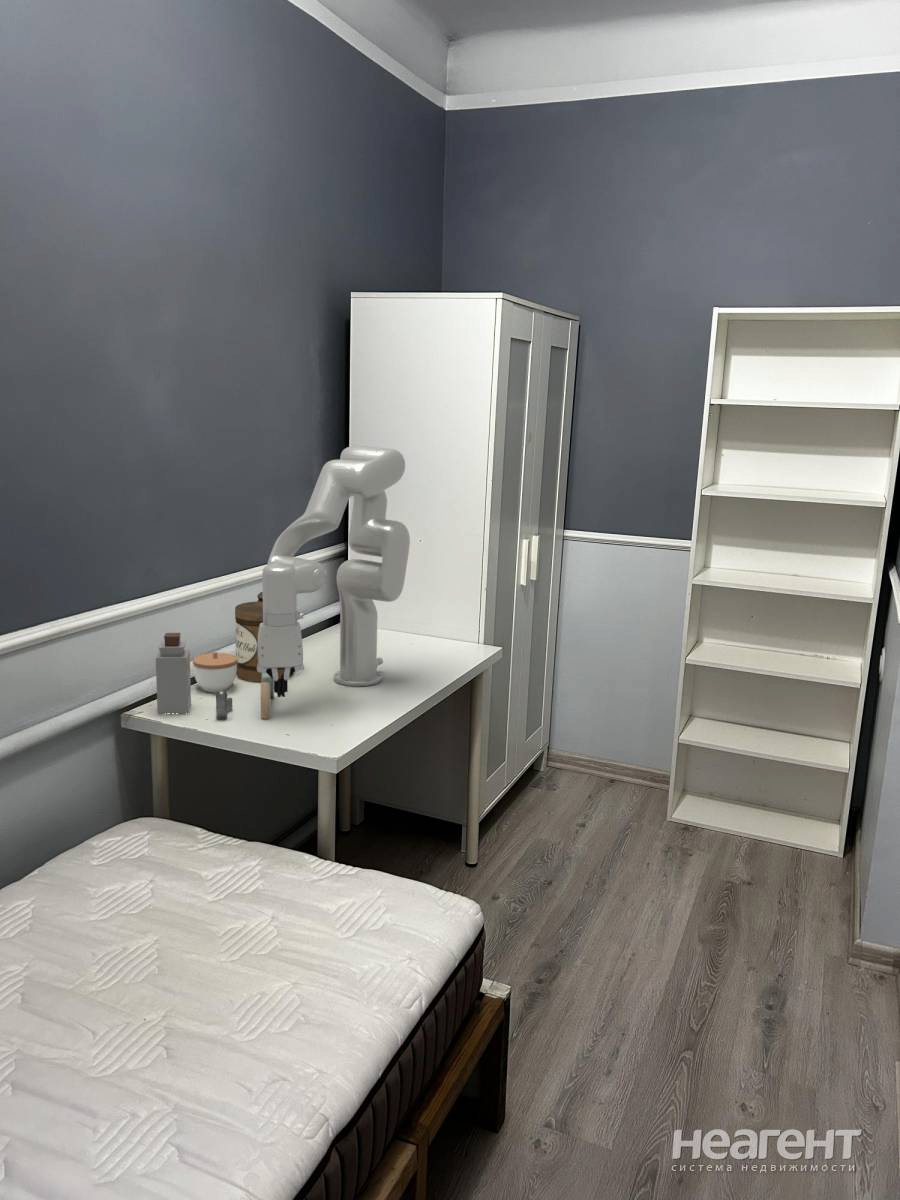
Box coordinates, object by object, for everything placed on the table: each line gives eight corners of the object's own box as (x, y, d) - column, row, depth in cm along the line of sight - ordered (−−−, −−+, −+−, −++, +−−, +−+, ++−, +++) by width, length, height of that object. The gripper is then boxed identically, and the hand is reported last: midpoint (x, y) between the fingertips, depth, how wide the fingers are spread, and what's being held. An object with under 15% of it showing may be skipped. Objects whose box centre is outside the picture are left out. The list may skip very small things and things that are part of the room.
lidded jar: (207, 679, 239) (207, 644, 237) (245, 684, 236) (245, 649, 234) (185, 692, 229) (184, 655, 227) (224, 697, 226) (223, 660, 224)
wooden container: (230, 668, 249) (229, 587, 244) (285, 663, 255) (285, 585, 250) (242, 685, 236) (241, 600, 231) (299, 679, 242) (299, 597, 237)
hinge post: (266, 694, 229) (265, 657, 227) (276, 696, 228) (276, 659, 226) (258, 698, 226) (257, 660, 224) (269, 700, 225) (268, 662, 223)
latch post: (229, 709, 218) (228, 682, 216) (241, 712, 216) (241, 685, 215) (209, 718, 212) (209, 690, 210) (222, 721, 210) (222, 693, 209)
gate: (263, 699, 225) (262, 666, 223) (271, 699, 225) (271, 666, 224) (260, 718, 212) (260, 684, 210) (269, 718, 212) (269, 684, 211)
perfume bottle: (191, 704, 221) (189, 630, 217) (188, 714, 214) (186, 638, 210) (161, 705, 219) (158, 631, 215) (157, 714, 213) (154, 638, 209)
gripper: (311, 613, 217) (311, 688, 221) (245, 615, 213) (247, 691, 218) (314, 621, 210) (315, 698, 214) (247, 624, 206) (248, 702, 210)
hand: (280, 695), depth 216 cm, fingers closed
